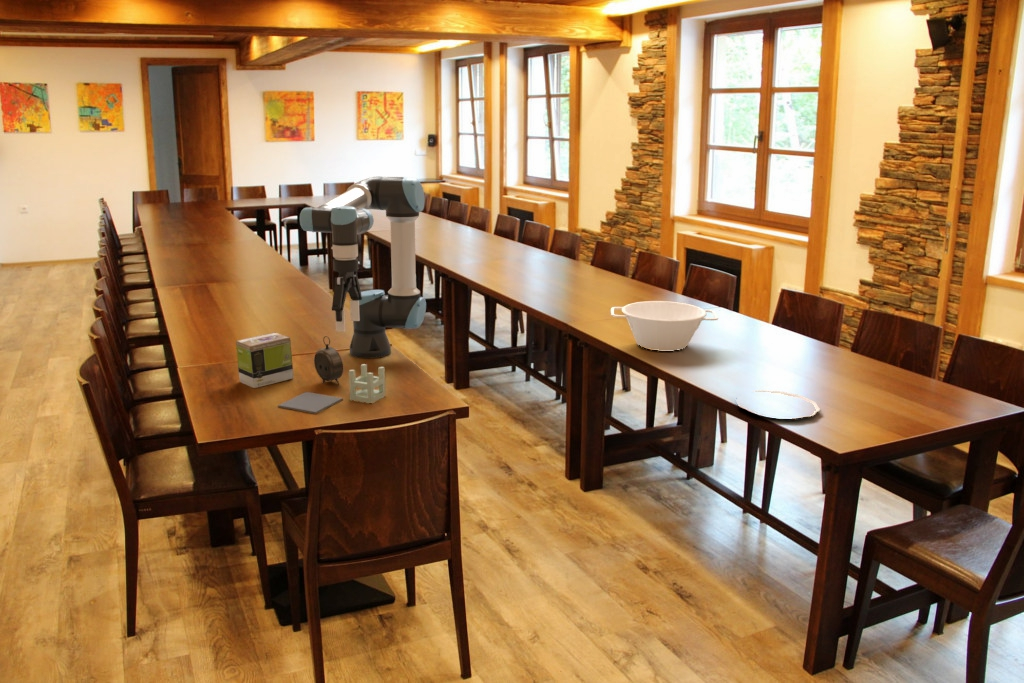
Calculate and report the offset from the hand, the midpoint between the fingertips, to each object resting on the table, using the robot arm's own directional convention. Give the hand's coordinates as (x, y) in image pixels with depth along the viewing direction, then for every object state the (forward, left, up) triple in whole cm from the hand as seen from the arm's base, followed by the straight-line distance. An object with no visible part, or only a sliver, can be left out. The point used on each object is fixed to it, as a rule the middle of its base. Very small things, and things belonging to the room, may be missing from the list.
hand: (348, 326), depth 275 cm
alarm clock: (-9, -15, -24) cm, 30 cm away
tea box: (-2, -35, -24) cm, 43 cm away
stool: (-2, +5, -24) cm, 24 cm away
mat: (+10, -8, -24) cm, 27 cm away
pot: (-103, +73, -24) cm, 129 cm away
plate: (-49, +124, -24) cm, 135 cm away
